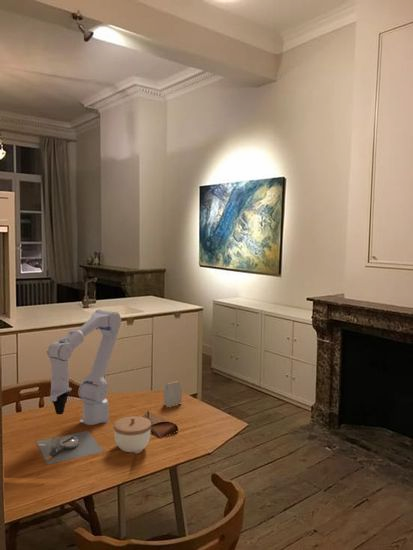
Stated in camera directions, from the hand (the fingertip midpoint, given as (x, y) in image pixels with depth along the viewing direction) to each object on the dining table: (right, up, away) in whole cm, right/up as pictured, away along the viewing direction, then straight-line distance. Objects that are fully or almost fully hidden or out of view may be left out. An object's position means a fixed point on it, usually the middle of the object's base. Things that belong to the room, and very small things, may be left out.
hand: (59, 413), depth 160 cm
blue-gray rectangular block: (+37, -7, +36) cm, 52 cm away
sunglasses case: (+32, -10, +12) cm, 36 cm away
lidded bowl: (+27, -11, -5) cm, 29 cm away
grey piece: (+4, -9, -9) cm, 13 cm away
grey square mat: (+5, -10, -6) cm, 13 cm away
